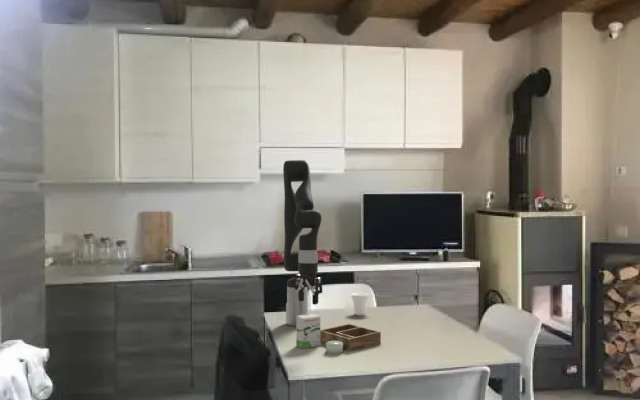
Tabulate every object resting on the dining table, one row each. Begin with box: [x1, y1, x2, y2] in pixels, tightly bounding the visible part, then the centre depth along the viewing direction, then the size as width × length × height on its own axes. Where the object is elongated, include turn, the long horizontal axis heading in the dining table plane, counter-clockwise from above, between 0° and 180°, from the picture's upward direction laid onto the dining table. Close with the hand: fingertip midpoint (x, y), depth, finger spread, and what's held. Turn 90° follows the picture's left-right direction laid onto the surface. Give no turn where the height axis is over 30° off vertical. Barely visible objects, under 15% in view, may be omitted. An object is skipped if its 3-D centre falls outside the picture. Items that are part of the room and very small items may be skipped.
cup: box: [350, 292, 371, 316], centre depth 281 cm, size 9×9×10 cm
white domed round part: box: [325, 341, 344, 355], centre depth 217 cm, size 6×6×4 cm
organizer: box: [320, 323, 382, 352], centre depth 230 cm, size 18×17×4 cm
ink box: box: [295, 313, 321, 349], centre depth 225 cm, size 9×5×12 cm, turn 123°
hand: (308, 302), depth 225 cm, fingers open, 8 cm apart
